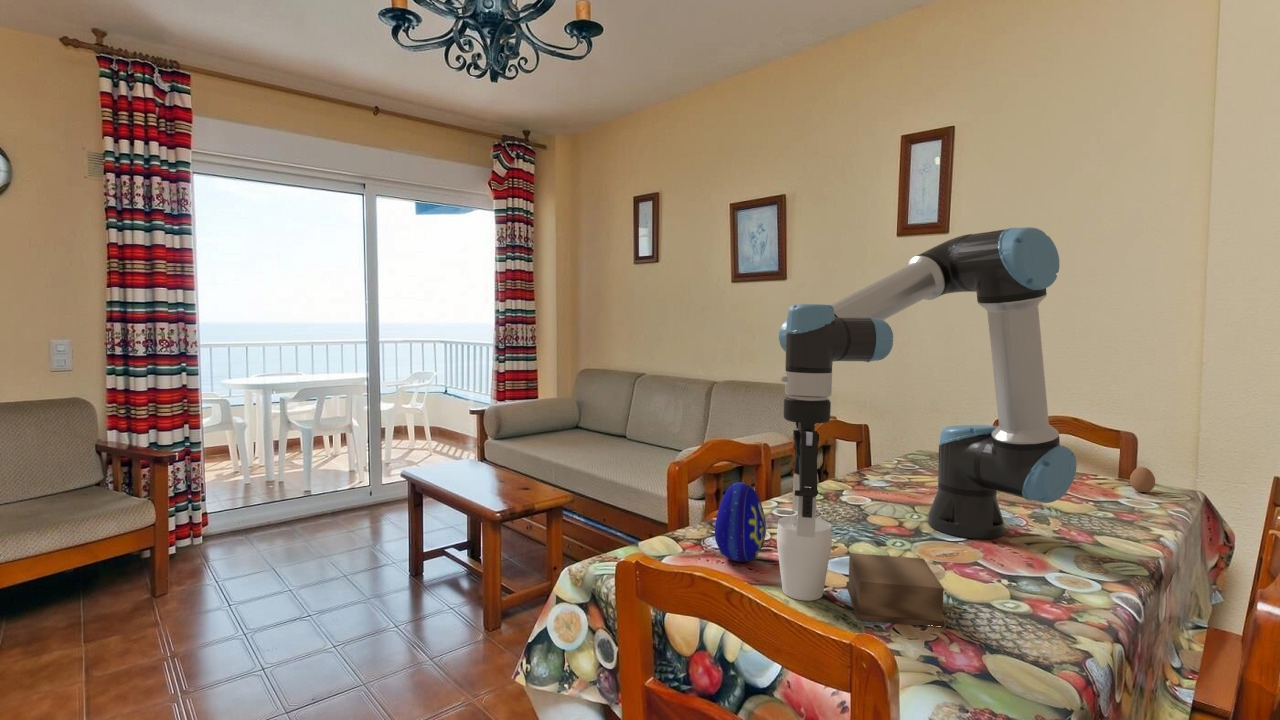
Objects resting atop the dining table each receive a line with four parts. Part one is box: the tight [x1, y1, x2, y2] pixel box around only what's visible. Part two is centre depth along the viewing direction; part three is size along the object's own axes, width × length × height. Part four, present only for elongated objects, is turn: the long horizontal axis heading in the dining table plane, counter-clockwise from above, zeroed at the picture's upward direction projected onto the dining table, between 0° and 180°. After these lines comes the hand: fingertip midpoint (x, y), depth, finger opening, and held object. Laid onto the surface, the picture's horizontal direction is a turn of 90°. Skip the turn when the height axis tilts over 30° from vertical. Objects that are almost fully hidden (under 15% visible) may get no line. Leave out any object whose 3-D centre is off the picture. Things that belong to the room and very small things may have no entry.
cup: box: [776, 514, 833, 602], centre depth 107 cm, size 9×9×12 cm
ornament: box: [714, 481, 767, 563], centre depth 121 cm, size 11×9×15 cm
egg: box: [1129, 466, 1156, 493], centre depth 171 cm, size 5×5×7 cm
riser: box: [846, 552, 946, 628], centre depth 102 cm, size 13×13×6 cm
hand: (802, 523), depth 106 cm, fingers open, 13 cm apart
